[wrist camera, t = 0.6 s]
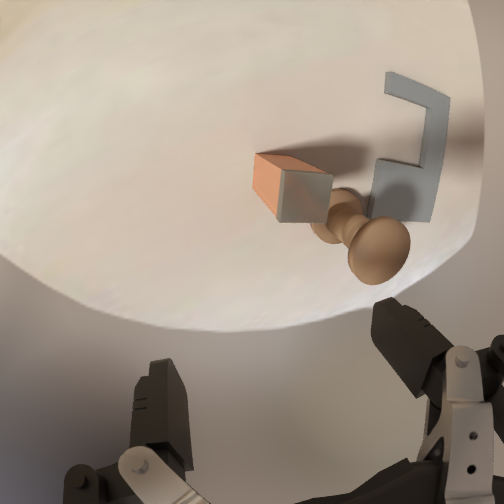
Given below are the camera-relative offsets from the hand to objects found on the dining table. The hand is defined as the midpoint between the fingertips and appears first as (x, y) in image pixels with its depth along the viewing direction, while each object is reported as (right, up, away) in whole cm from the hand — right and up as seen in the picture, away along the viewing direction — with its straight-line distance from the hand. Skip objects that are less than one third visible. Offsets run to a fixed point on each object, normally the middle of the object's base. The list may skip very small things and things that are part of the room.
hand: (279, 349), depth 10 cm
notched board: (+21, +18, +24) cm, 36 cm away
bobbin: (+10, +8, +26) cm, 29 cm away
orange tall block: (+1, +13, +22) cm, 25 cm away
